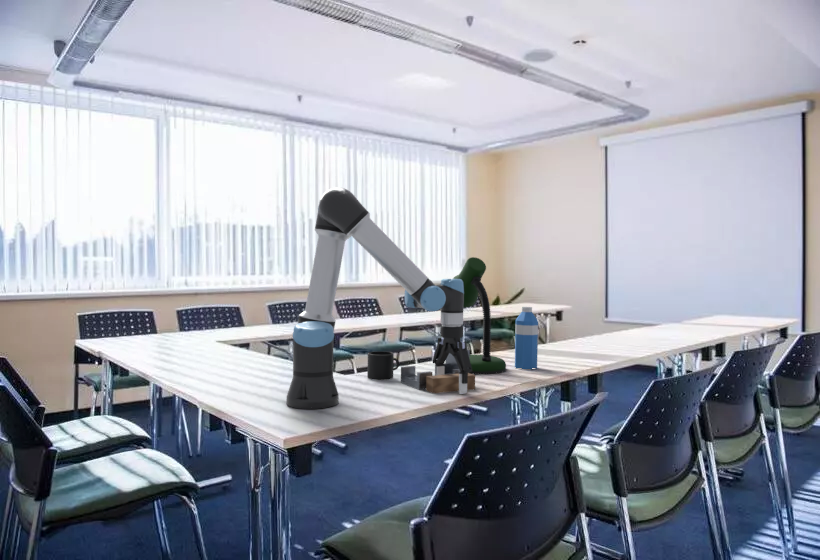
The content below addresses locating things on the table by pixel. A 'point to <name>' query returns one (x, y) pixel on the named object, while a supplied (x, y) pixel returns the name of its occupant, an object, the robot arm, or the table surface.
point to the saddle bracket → (414, 377)
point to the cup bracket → (451, 365)
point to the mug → (381, 365)
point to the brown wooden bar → (447, 383)
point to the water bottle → (526, 339)
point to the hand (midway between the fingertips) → (451, 389)
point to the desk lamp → (472, 287)
